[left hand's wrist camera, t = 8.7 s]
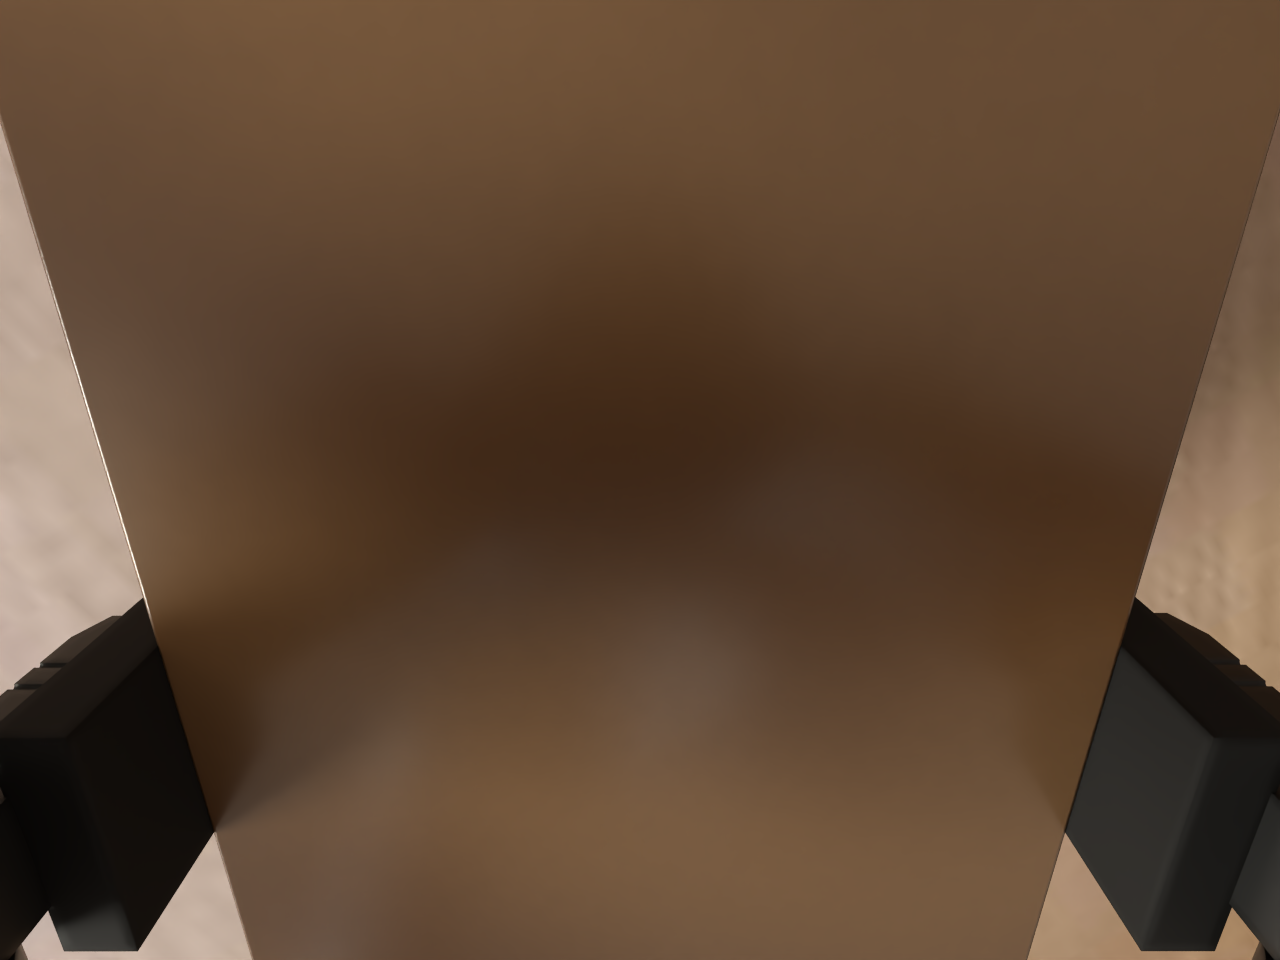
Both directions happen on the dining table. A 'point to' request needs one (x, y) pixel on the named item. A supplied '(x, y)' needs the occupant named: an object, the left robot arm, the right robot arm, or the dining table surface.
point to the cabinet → (639, 438)
